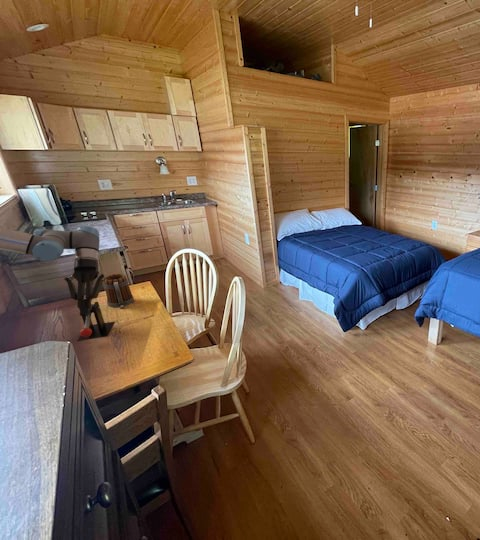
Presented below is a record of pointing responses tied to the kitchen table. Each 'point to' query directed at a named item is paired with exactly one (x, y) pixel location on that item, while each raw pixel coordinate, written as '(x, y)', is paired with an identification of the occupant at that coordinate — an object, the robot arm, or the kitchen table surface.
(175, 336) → the kitchen table surface
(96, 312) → the lever base
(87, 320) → the lever
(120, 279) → the mug
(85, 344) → the kitchen table surface
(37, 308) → the kitchen table surface
